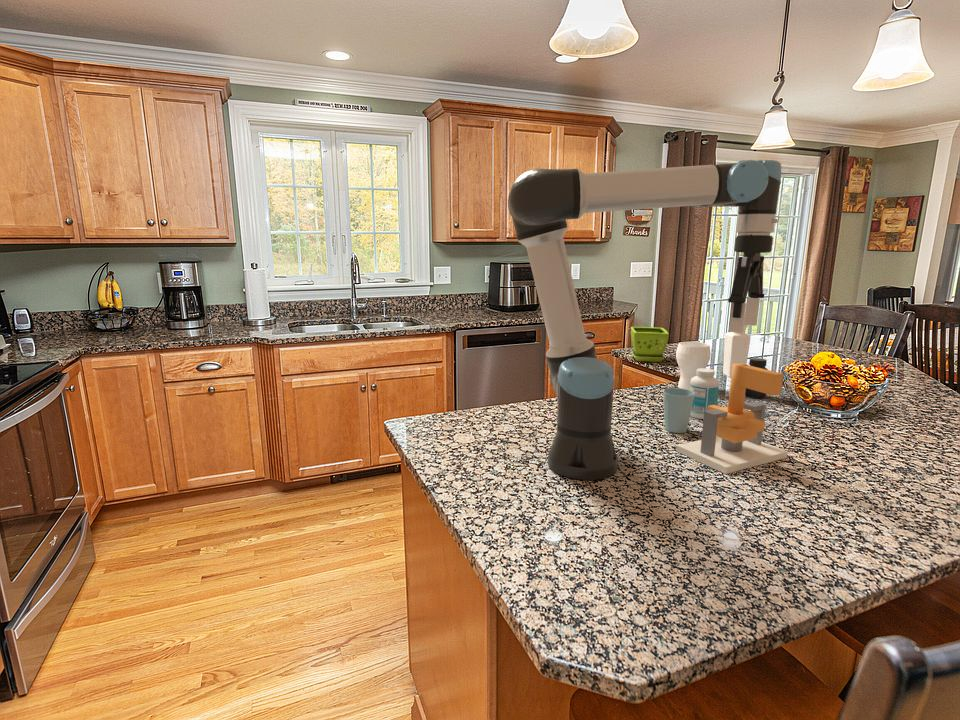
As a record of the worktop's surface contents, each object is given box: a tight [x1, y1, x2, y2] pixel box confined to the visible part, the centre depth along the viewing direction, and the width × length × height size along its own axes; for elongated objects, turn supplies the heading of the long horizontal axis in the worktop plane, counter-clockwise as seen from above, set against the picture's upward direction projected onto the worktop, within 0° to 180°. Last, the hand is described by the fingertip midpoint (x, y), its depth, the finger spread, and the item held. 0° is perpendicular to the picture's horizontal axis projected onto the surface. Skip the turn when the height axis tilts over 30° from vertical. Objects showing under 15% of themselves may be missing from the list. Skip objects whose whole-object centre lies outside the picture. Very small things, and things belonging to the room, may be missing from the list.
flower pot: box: [630, 326, 670, 363], centre depth 221 cm, size 14×14×13 cm
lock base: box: [675, 401, 789, 475], centre depth 123 cm, size 20×14×11 cm
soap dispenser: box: [722, 318, 752, 378], centre depth 193 cm, size 6×6×22 cm
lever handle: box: [707, 363, 784, 443], centre depth 120 cm, size 8×16×17 cm, turn 26°
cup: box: [662, 387, 695, 434], centre depth 139 cm, size 8×8×10 cm
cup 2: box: [675, 341, 712, 390], centre depth 178 cm, size 11×11×15 cm
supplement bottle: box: [745, 357, 769, 399], centre depth 169 cm, size 7×7×12 cm
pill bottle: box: [690, 367, 720, 420], centre depth 150 cm, size 8×7×14 cm
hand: (743, 328), depth 123 cm, fingers open, 13 cm apart
